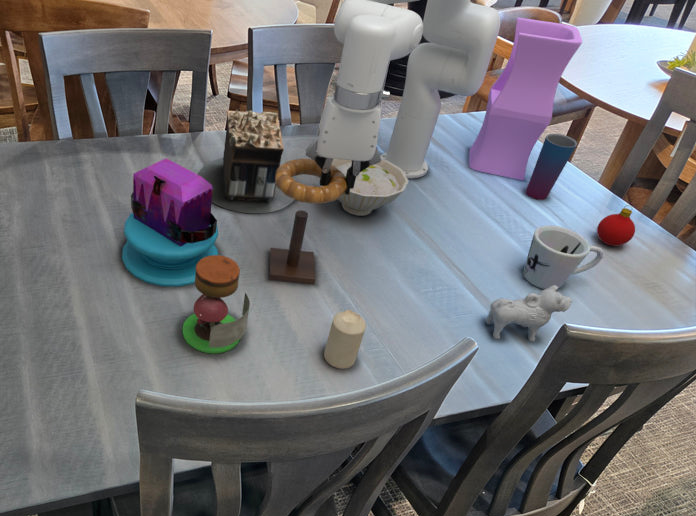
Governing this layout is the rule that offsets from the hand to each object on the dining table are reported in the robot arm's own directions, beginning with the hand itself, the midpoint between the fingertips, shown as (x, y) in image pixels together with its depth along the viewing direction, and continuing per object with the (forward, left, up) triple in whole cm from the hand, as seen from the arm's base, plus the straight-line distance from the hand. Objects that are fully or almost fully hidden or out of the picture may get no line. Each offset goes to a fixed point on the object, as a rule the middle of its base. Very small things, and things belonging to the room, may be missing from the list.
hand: (335, 188), depth 117 cm
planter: (-31, -15, -20) cm, 40 cm away
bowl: (-26, +11, -20) cm, 34 cm away
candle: (+24, +3, -20) cm, 31 cm away
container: (-55, +51, -20) cm, 77 cm away
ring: (0, -5, +1) cm, 5 cm away
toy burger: (+22, -20, -20) cm, 36 cm away
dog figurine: (+12, +37, -20) cm, 43 cm away
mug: (-5, +49, -20) cm, 53 cm away
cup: (-40, +57, -20) cm, 72 cm away
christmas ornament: (-21, +67, -20) cm, 73 cm away
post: (0, -5, -20) cm, 20 cm away
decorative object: (0, -30, -20) cm, 36 cm away
